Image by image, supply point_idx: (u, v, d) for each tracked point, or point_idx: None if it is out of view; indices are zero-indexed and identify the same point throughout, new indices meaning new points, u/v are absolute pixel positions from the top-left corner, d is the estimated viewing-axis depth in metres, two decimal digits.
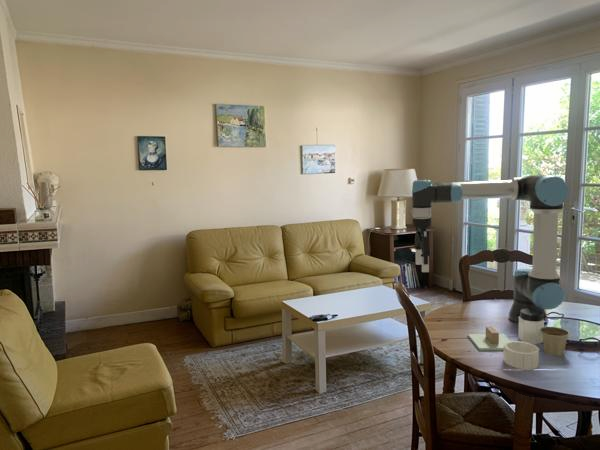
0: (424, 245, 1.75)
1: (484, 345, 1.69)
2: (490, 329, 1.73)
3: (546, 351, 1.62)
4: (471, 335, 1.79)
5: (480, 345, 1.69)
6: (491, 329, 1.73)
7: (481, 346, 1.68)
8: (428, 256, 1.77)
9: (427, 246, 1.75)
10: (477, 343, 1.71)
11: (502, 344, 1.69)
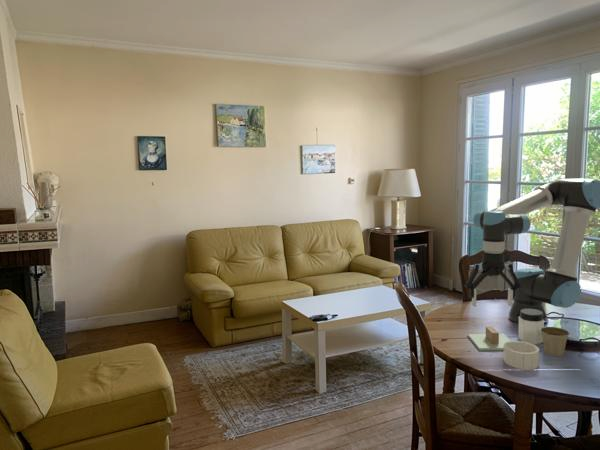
0: (469, 277, 1.71)
1: (484, 345, 1.69)
2: (490, 329, 1.73)
3: (546, 351, 1.62)
4: (471, 335, 1.79)
5: (480, 345, 1.69)
6: (491, 329, 1.73)
7: (481, 346, 1.68)
8: (474, 290, 1.70)
9: (469, 278, 1.70)
10: (477, 343, 1.71)
11: (502, 344, 1.69)
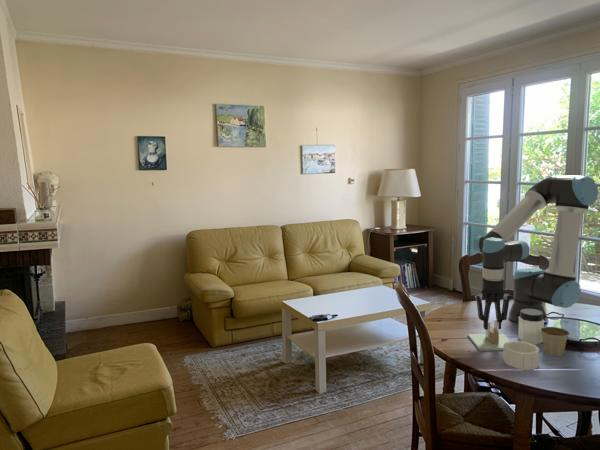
0: None
1: (484, 345, 1.69)
2: (490, 329, 1.73)
3: (546, 351, 1.62)
4: (471, 335, 1.79)
5: (480, 345, 1.69)
6: (491, 329, 1.73)
7: (481, 346, 1.68)
8: (488, 322, 1.71)
9: (479, 311, 1.72)
10: (477, 343, 1.71)
11: (502, 344, 1.69)
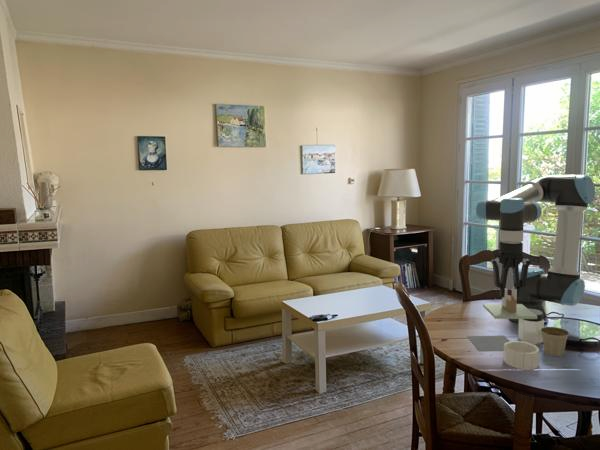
0: (494, 275, 1.60)
1: (500, 313, 1.56)
2: (507, 297, 1.60)
3: (546, 351, 1.62)
4: (486, 305, 1.66)
5: (496, 313, 1.56)
6: (508, 297, 1.60)
7: (497, 314, 1.55)
8: (505, 289, 1.58)
9: (495, 277, 1.59)
10: (493, 311, 1.58)
11: (520, 313, 1.56)
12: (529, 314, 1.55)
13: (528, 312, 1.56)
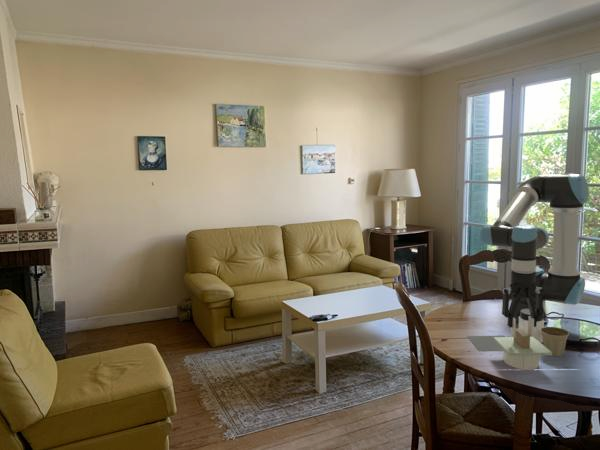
0: (503, 304, 1.55)
1: (514, 350, 1.51)
2: (519, 332, 1.55)
3: None
4: (497, 338, 1.61)
5: (509, 350, 1.51)
6: (520, 331, 1.55)
7: (511, 351, 1.50)
8: (513, 319, 1.53)
9: (504, 306, 1.54)
10: (505, 347, 1.53)
11: (534, 348, 1.51)
12: (543, 350, 1.50)
13: (542, 347, 1.52)
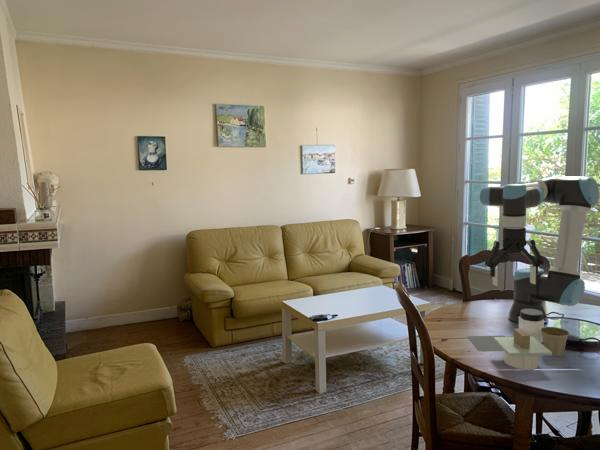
0: (489, 255, 1.62)
1: (514, 350, 1.51)
2: (519, 332, 1.55)
3: None
4: (497, 338, 1.61)
5: (509, 350, 1.51)
6: (520, 331, 1.55)
7: (511, 351, 1.50)
8: (495, 269, 1.61)
9: (490, 257, 1.61)
10: (505, 347, 1.53)
11: (534, 348, 1.51)
12: (543, 350, 1.50)
13: (542, 347, 1.52)
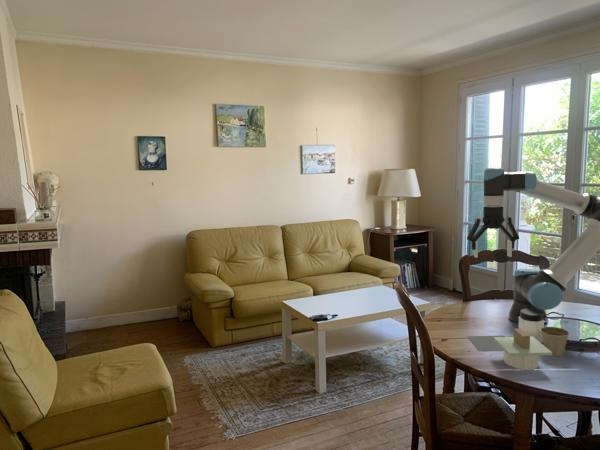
0: (471, 230, 1.84)
1: (514, 350, 1.51)
2: (519, 332, 1.55)
3: None
4: (497, 338, 1.61)
5: (509, 350, 1.51)
6: (520, 331, 1.55)
7: (511, 351, 1.50)
8: (476, 242, 1.82)
9: (471, 231, 1.82)
10: (505, 347, 1.53)
11: (534, 348, 1.51)
12: (543, 350, 1.50)
13: (542, 347, 1.52)
